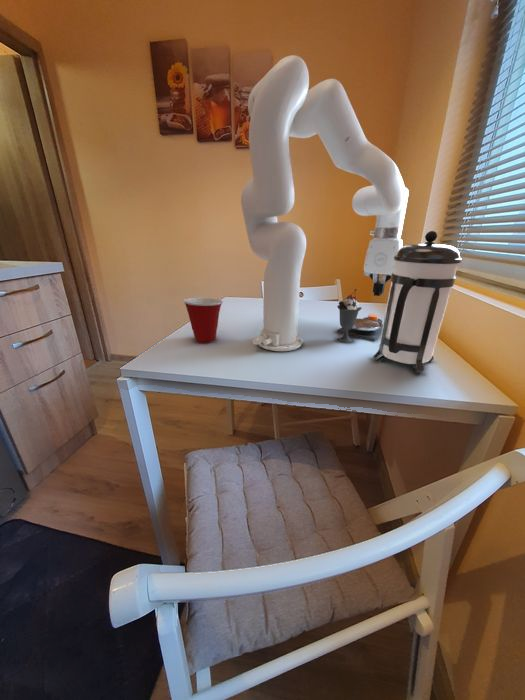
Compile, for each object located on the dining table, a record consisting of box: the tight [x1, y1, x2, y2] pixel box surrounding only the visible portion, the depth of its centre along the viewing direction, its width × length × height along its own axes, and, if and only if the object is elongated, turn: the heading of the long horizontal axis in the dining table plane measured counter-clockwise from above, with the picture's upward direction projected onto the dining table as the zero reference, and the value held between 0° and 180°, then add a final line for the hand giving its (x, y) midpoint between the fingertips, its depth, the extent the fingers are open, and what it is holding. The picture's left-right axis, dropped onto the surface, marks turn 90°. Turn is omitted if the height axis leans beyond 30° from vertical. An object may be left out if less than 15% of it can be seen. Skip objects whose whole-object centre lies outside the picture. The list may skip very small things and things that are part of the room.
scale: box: [336, 316, 383, 342], centre depth 91 cm, size 16×12×2 cm
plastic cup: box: [183, 297, 224, 344], centre depth 79 cm, size 11×11×12 cm
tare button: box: [367, 314, 379, 321], centre depth 94 cm, size 3×3×2 cm
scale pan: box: [352, 318, 380, 331], centre depth 88 cm, size 10×10×1 cm
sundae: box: [335, 288, 362, 344], centre depth 80 cm, size 7×7×15 cm
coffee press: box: [372, 230, 462, 374], centre depth 63 cm, size 17×16×30 cm
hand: (377, 295), depth 91 cm, fingers closed
